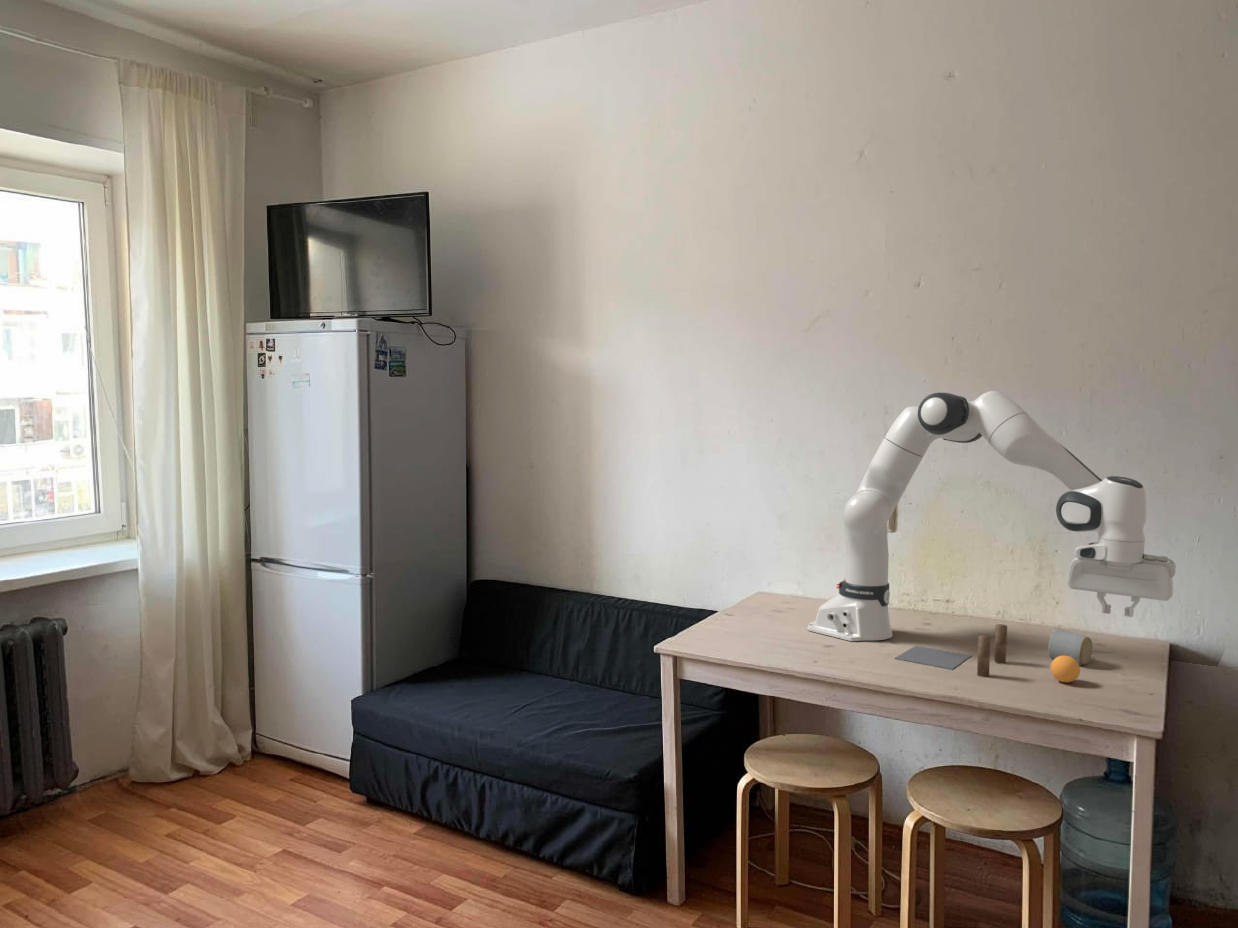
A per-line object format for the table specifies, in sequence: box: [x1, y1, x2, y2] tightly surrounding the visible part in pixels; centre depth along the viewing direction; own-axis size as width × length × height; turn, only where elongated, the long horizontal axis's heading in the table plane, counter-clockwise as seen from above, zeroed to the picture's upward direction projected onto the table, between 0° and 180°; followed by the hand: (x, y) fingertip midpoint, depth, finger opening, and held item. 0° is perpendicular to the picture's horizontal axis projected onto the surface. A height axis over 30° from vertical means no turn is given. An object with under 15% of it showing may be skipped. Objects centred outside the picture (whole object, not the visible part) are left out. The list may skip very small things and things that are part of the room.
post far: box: [993, 623, 1008, 664], centre depth 225 cm, size 3×3×9 cm
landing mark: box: [894, 645, 972, 670], centre depth 229 cm, size 14×14×1 cm
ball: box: [1050, 655, 1081, 683], centre depth 210 cm, size 6×6×6 cm
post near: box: [976, 635, 991, 678], centre depth 215 cm, size 3×3×9 cm
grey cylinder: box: [1047, 627, 1094, 666], centre depth 226 cm, size 11×8×8 cm
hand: (1117, 614), depth 203 cm, fingers open, 3 cm apart
